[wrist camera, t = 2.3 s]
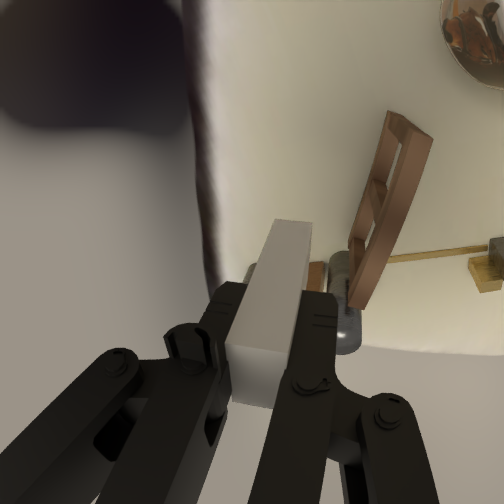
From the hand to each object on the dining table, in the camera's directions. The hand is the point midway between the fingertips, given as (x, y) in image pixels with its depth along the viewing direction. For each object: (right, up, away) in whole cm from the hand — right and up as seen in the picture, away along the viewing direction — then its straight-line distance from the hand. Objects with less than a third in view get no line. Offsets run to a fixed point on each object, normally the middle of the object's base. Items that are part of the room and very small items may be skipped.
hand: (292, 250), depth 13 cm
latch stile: (+21, 0, +12) cm, 24 cm away
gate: (+8, +6, +11) cm, 15 cm away
